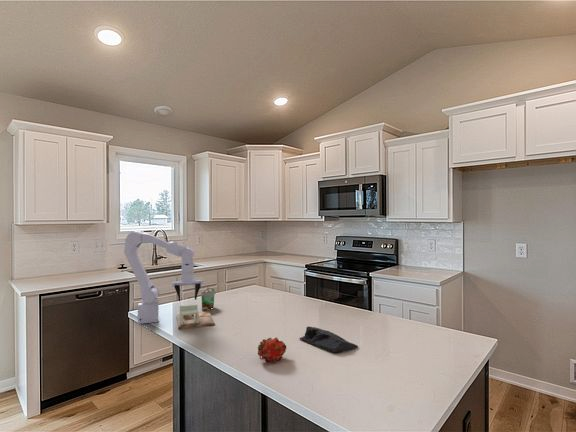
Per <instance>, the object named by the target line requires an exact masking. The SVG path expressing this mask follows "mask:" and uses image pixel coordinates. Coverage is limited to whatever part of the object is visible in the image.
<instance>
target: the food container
mask: <svg viewBox="0 0 576 432" xmlns="http://www.w3.org/2000/svg"><path fill="white" fill-rule="evenodd" d="M215 289H216V288H212V287H207V288H206V290H204V291H202V292H200V293H201V294H200V295H201V311H202V310H204V311H208V310H207V309H211V308H213V307H214V305H215V295H216V293H217V292H216V290H215ZM213 309H214V308H213ZM211 310H212V309H211Z"/></svg>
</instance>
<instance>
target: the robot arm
mask: <svg viewBox="0 0 576 432" xmlns="http://www.w3.org/2000/svg"><path fill="white" fill-rule="evenodd" d="M124 242H125V244H124V250H123V254H124V256H125V258H126V260H127V262H128V264H129V266H130V267H131V268H130V269H131V270H132V272H133V275H134V276H135V279H136V280H137V282H138V285H139V289H140V293H141V300H142V302H140V303H137V317H136V318H137V319H136V320H137V325H141V324H150V323H160V316H159V305H160V304H159V303H160V302H159V299H158V297H159V294H160V290H159V289H158V288H157V286H155V285H154V283H153V282H152V281H151V279H150V277H149V275H148V273H147V271H146V269H145V267H144V265H143V262H142V261H141V258H140V256H139V254H138V250H139V249H140V247H141V245H142V244H148V243H150V244H153V245H155V246H158V247H161V248H164V249H165V251H166V253H168V254H171V255H173V256H175V257H178V258H181V280H178V281H172V282H171V286H172V288H174V289H175V293H176V294H177V298H178V299H177V300H178V302H181V286H183V287H184V286H194V300H197V298H198V294H199V291H200V289H201V287H202V285H203V284H204V281H203V279H194V278H195V274H194V271H195V270H194V269H195V268H194V267H195V266H194V265H195V264H194V255H195V251H194V250H193V249H192V248H191V247H187V245H182V244H179V243H178V241H175V240H174V241H169V242H168V241H166V240H164V239H162V238H160V237H158V236H155V235H152V234H151V233H148V232H143V231H141V230H137V231H132V232H129V233H128V234H127V235H126V237H125V240H124Z"/></svg>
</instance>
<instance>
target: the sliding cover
mask: <svg viewBox="0 0 576 432" xmlns="http://www.w3.org/2000/svg"><path fill="white" fill-rule="evenodd" d="M198 306H199V305H198V303H197V304H196V303H195V304H189V305H179V314H180V324H181V325H183V315H192V314H195V320H196V323H199V312H200V311H199V309H198Z"/></svg>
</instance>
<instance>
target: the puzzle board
mask: <svg viewBox="0 0 576 432" xmlns="http://www.w3.org/2000/svg"><path fill="white" fill-rule="evenodd" d="M176 321H177V329H178V330H185V329H192V328H193V329H194V328H200V327H201V328H202V327H208V326H209V327H210V326H215V325H216V322H215V321H214V319H213V317H212V315H211V313H210V312H209V311H199V323H196V320H195V314H192V318H185V319H183V325H181V324H180V313H178V314H176Z"/></svg>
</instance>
